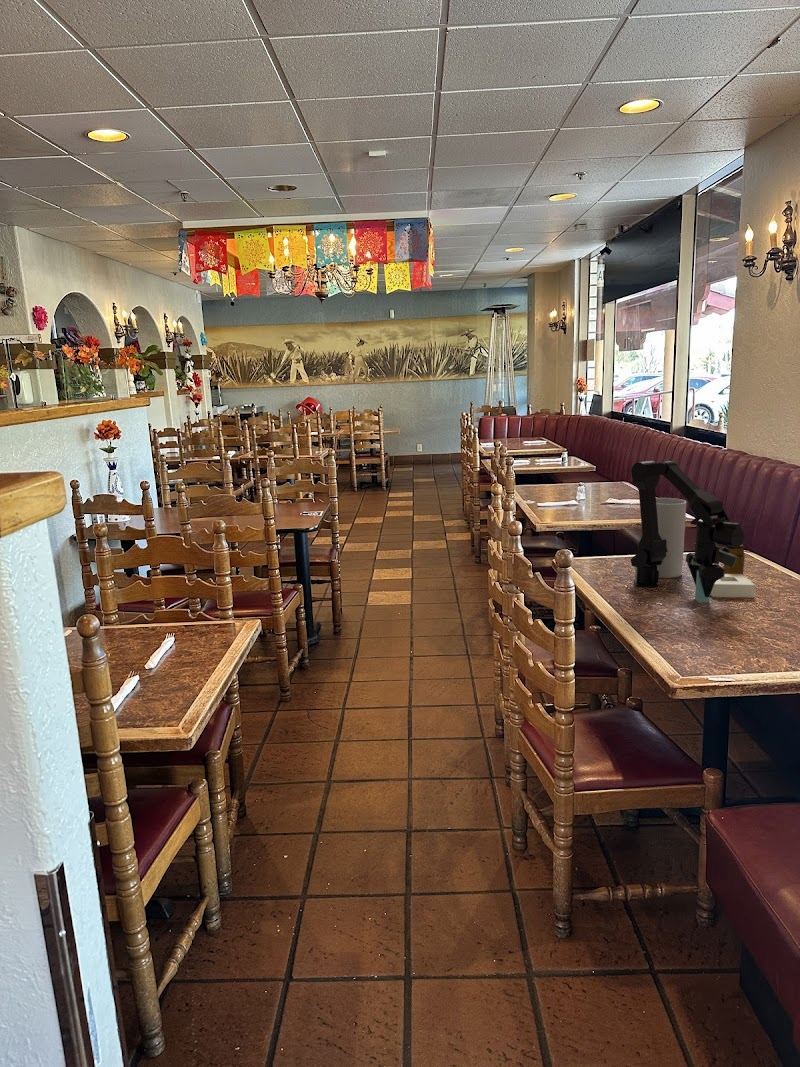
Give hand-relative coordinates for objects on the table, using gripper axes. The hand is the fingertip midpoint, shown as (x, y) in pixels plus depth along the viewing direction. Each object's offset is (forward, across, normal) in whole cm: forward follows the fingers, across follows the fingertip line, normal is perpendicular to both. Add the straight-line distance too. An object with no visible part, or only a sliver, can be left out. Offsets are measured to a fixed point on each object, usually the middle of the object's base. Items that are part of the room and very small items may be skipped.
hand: (702, 592), depth 217 cm
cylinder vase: (+3, +30, +5) cm, 31 cm away
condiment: (+3, +22, -16) cm, 27 cm away
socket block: (+2, +10, -10) cm, 14 cm away
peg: (+3, 0, 0) cm, 3 cm away
